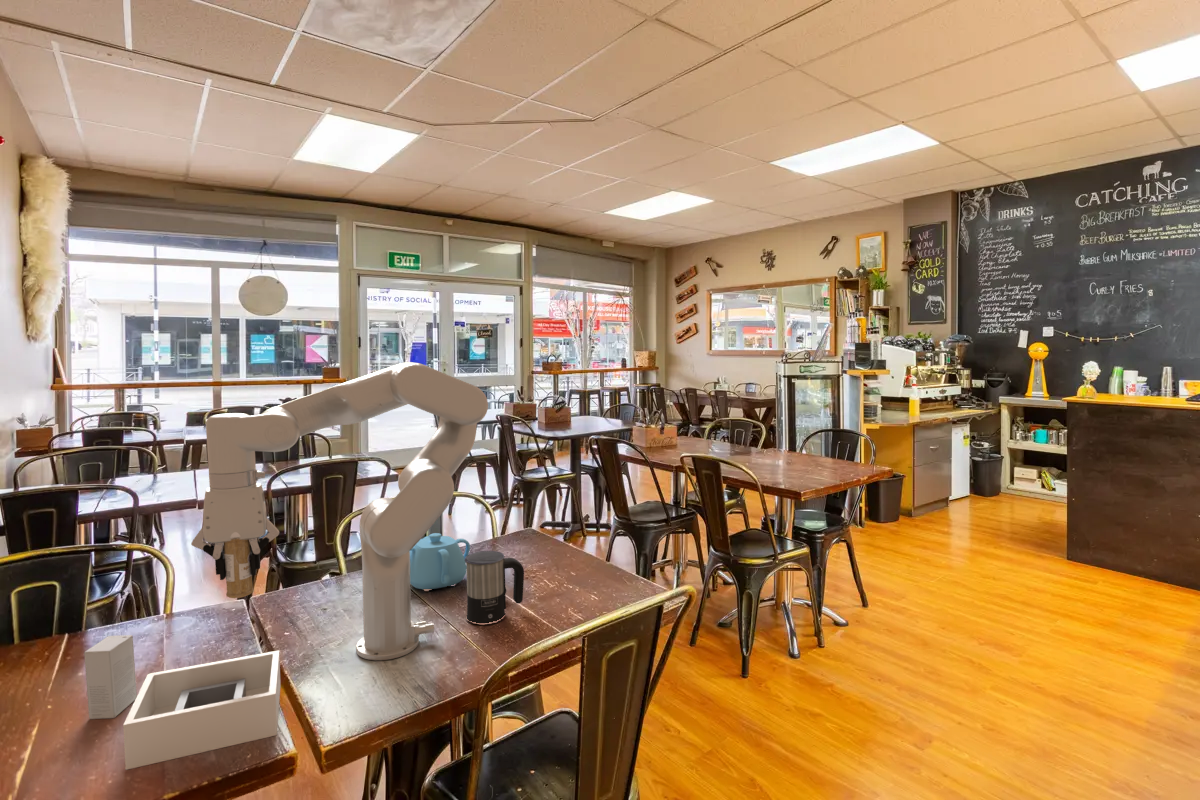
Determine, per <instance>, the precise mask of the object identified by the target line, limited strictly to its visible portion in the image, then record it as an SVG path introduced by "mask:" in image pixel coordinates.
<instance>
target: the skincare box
mask: <svg viewBox="0 0 1200 800" xmlns="http://www.w3.org/2000/svg"><path fill="white" fill-rule="evenodd" d="M134 652H135V651H134V637H133V635H131V634H130V635H129V634H128V635H124V634H123V635H108V636H106V637H105V638H103V639H102V640H100V641H99V642H98V643H96V644H94V645H93V646H92V647H90V648H88V649H87V650H85V651H84V653H83V654H84V665H85V666H84V667H85V681H86V682H85V683H86V695H87V707H88V708H87V709H88V718H89V720H96V719H97V720H98V719H99V720H101V719H115V718H116V717H117V716H118V715H119V714H120V713H121V712H123V711H124V710H125V709H126V708H127V707H128V706H130V705H131V704H132V703H134V702H135V699H136V697H137V695H138V693H137V680H136V666H135V665H136V664H135V653H134Z"/></svg>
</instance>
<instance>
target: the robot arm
mask: <svg viewBox="0 0 1200 800" xmlns="http://www.w3.org/2000/svg"><path fill="white" fill-rule="evenodd" d="M487 398H488V397H487V396H486V394H485V393H484V392H483V390H482V389H481V388H479V387H478V386H476V385H474V384H471V383H469V382H466V381H463V380H462V379H460V378H456V377H453V376H451V375H449V374H446V373H444V372H441V371H439V370H437V369H434V368H433V367H430V366H428V365H425V364H422V363H420V362H412V361H407V362H401V363H397V364H394V365H391V366H389V367H386V368H382V369H379V370H377V371H374V372H371V373H369V374H365V375H363V376H360V377H356V378H354V379H351V380H348V381H345V382H342V383H340V384H336V385H334V386H330V387H329V388H326V389H323V390H319V391H317V392H315V393H314V392H313V393H312V394H308V395H306V396H301V397H299V398H296V399H293V400H290V401H287V402H285V403H282V404H279V405H277V406H274V407H270V408H269V409H266V410H264V411H263V412H262V413H261V414H254V415H250V414H248V413H242V412H232V413H231V412H229V413H228V412H227V413H219V414H213V415H210V416H209V417H208V418H207V419H206V422H205V433H206V448H207V463H208V467H207V468H208V478H209V479H208V480H209V481H208V482H209V487H207V488H206V489H205V493H204V497H203V498H204V500H203V513H202V521H203V522H202V527H201V528H200V530H199V531H198V533H197V534H196V535H195V537H194V538H193V539H192V541H191V546H192V547H194V548H197V549H199V550H202V551H203V552H204V553H206V554H208V555H209V556H210V557H212V559H213V560H214V561H215V562H214V563H215V565H214V566H215V575H217V576H218V575H219V580H220V581H223V580H226V577H225V561H224V551H223V550H224V542H229V541H231V539H234V538H230V537H231V535H232V534H233V533H234V532H237V533H238V534H239V535H240V536H241V537H238V538H240V539H239V540H249V542H250V549H251V550H250V551H251V555H250V562H251V575H252V576H256V575H257V572H258V571H257V570H260V569H261V556H260V555H261V554H260V553H261V551H263V549H264V548H265V547H266V546H267V545H268V544H269V543H270V542H271V541H273V540H274V539H276V538H277V537H278V536H279V535H280V530H279V529H278V528H277V527H276V525H274V524H273V523H272V522H271V521H270V519H268V515H267V506H266V499H265V493H264V489H263V486H262V483H260V482H257V481H259V480H261V479H265V478H266V475H265V474H266V472H265V471H263V470H262V471H261V470H258V469H257V466H256V452H269V453H271V452H272V453H278V452H279V453H280V452H284V451H287V450H289V449H290V448H292V447H293V446H294V445H296V443H297V442H298V440H299V438H301V437H303V436H305V435H308V434H311V433H313V432H317V431H319V430H323V429H327V428H329V427H334V426H343V425H344V426H347V425H354V424H358V423H362V422H365V421H367V420H369V419H373V418H376V417H377V416H380V415H382V414H384V413H388V412H390V411H391V412H392V411H393V410H397V409H399V408H401V407H405V406H407V405H410V406H412V407H414V408H416V409H420V410H422V411H424V412H426V413H429V414H432V415H434V416H437V417H439V420H438V426H437V429H436V431H435V433H434V434H433V435H432V436H431V438H430V440H428V442H427V443H426V444H425V445H424V446H423V447H422V449H420V451H419V452H418V453H417V454H416V455H415V456H414V458H413V459H411V461H410V462H409V463H408V464H407V465H406V466H405V467H404V468H403V470H401V472H400V474H399V476H398V479H397V481H398V483H397V485H398V490H399V492H398V493H397V494H396V495H395V496H394V498H391V497H381V498H380V497H379V498H377V499H374V500H372V501H371V502H369V503H368V504H367V505H366V506H365V508H364V509H363V510H362V513H361V516H360V518H359V537H360V539H359V540H360V548H361V564H362V565H361V569H362V580H361V581H362V616H363V617H362V618H363V620H362V621H363V637H361V638H360V639H359V640H358V641H357V643H356V644H355V652H356V654H357V655H358V656H359V657H360V658H363V659H364V660H369V661H388V660H393V659H397V658H400V657H403V656H406V655H408V654H410V653H412V652H413V651H414V650H415V649H416V648H417V647H418V646H419V643H420V635H424V634H433V633H435V626H434V623H433V622H432V623H427V622H426V620H423V621H418V622H415V621H413V620H412V610H411V609H412V604H411V603H412V602H411V601H412V598H411V583H410V550H411V549H412V548H413V547H414V546H415V545H416V544H417V543H418V542H419V540H420V539H423V538H424V537H425V535H426V533H427V532H428V531H429V530H430V529H431V528H432V526H433V525H434V524H435V523H436V522H437V521H438V519H439V518H440V517H441V515H442V514H443V513H444V512H445V510H447V508H448V506H449V505H450V503H451V501H452V499H453V496H454V493H455V485H454V484H455V483H454V480H453V478H452V477H453V475H454V474H455V473H456V472H457V470H458V469H459V467H460V466H461V464H462V463H463V462H465V459H466V458H467V457H468V455H469V454H470V452H471V451H472V449H473V446H474V444H475V441H476V436H477V426H478V425H477V424H478V423H480V422H481V421H482V420H483V419H484V418H485V416H486V415H487V412H488V409H489V401H488V399H487ZM266 532H267V533H266ZM259 538H260V539H259ZM235 539H236V538H235ZM213 544H214V545H213Z"/></svg>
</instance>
